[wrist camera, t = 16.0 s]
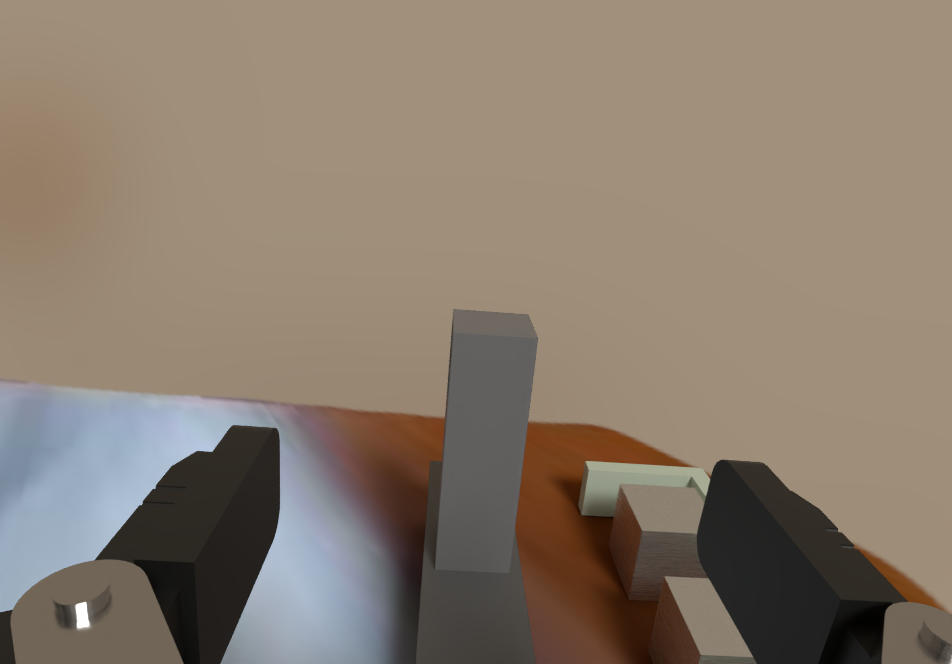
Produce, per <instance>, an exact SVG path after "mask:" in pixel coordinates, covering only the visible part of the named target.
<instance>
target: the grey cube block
mask: <svg viewBox="0 0 952 664" xmlns="http://www.w3.org/2000/svg"><path fill="white" fill-rule="evenodd" d="M703 506H704V501H703V500H702V498H701V497H700V495H699V494H698V492H697V491H696V489H695V488H689V487H671V486H654V485H637V484H620V486H619V491H618V497H617V502H616V508H615V513H614V519H613V524H612V530H611V536H610V541H609V549H610V552H611V554H612V557H613V560H614V562H615V565H616V568H617V570H618V573H619V576H620V578H621V581H622V584H623V586H624V589H625V592H626V594H627V597H628V600H641V601H659V598H660V593H661V589H662V584H663V580H664V576H670V577H689V578H707V579H709V578H708V576H707V575H706V573H705V571H704V569H703V567H702V565H701V563H700V560H699V557H698V552H697V531H698V526H699V522H700V518H701V514H702V510H703Z"/></svg>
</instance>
